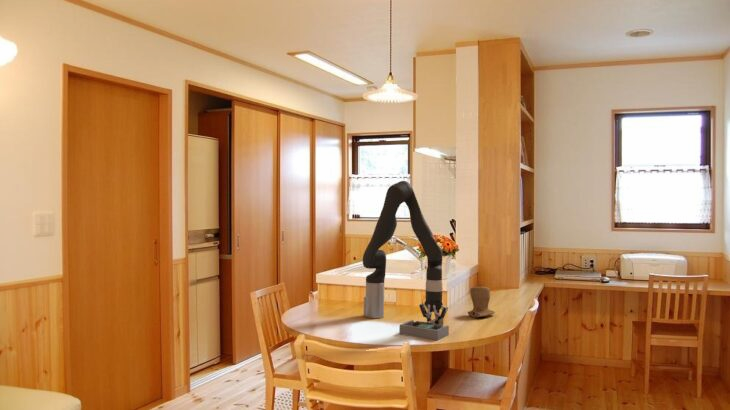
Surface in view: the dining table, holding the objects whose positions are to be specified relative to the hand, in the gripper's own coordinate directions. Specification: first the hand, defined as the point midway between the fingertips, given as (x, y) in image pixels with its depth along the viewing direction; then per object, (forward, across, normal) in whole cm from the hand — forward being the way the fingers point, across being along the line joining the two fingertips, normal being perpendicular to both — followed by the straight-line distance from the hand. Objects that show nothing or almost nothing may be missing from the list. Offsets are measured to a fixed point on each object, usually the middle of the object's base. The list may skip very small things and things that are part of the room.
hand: (433, 327), depth 258 cm
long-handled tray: (+1, 0, 0) cm, 1 cm away
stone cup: (+2, +6, +42) cm, 43 cm away
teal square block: (+2, 0, -9) cm, 9 cm away
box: (+1, 0, -9) cm, 9 cm away
